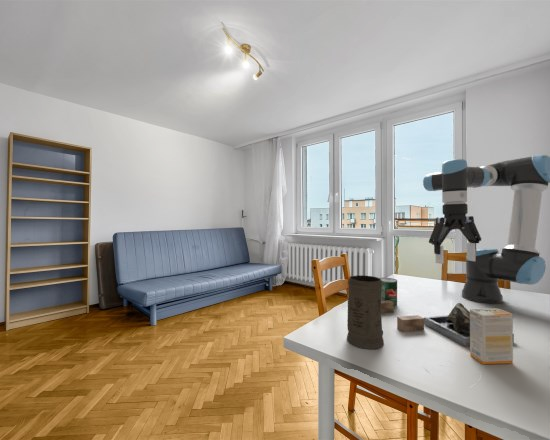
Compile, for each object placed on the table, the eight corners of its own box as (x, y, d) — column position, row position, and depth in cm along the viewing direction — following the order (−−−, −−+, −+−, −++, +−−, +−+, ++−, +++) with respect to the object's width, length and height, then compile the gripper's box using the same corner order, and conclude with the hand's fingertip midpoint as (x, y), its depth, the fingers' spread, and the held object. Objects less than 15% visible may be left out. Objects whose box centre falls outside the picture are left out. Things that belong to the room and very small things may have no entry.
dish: (465, 320, 98) (465, 314, 98) (513, 342, 81) (513, 334, 81) (423, 324, 95) (423, 317, 95) (465, 347, 78) (465, 338, 78)
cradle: (389, 309, 110) (389, 300, 110) (424, 330, 90) (424, 318, 90) (371, 311, 108) (371, 301, 108) (402, 331, 89) (402, 320, 89)
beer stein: (379, 354, 74) (380, 282, 75) (341, 344, 80) (343, 277, 81) (388, 337, 87) (389, 275, 88) (355, 329, 93) (356, 271, 94)
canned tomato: (394, 309, 111) (394, 282, 111) (375, 305, 115) (375, 280, 115) (399, 304, 117) (399, 279, 117) (380, 300, 122) (380, 276, 122)
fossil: (496, 336, 82) (479, 307, 82) (466, 347, 83) (450, 319, 84) (476, 321, 92) (461, 295, 93) (450, 331, 94) (436, 306, 94)
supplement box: (497, 354, 74) (497, 307, 74) (513, 364, 69) (514, 314, 69) (468, 355, 74) (468, 308, 74) (482, 364, 69) (483, 314, 69)
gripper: (433, 203, 90) (434, 266, 91) (493, 202, 95) (493, 261, 96) (417, 204, 97) (418, 262, 98) (473, 203, 102) (474, 258, 103)
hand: (455, 262), depth 97 cm, fingers open, 13 cm apart
